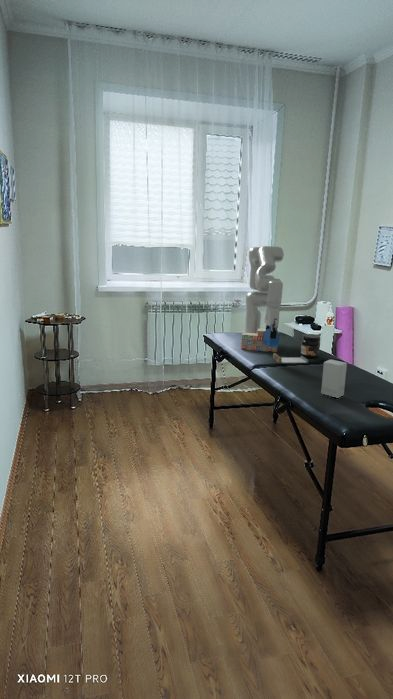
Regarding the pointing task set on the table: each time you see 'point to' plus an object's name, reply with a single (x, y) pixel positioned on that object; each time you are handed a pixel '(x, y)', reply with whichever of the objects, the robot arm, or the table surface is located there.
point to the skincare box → (334, 378)
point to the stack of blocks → (255, 342)
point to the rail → (277, 358)
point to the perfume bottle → (268, 340)
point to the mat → (294, 360)
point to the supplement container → (310, 346)
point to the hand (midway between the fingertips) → (270, 336)
